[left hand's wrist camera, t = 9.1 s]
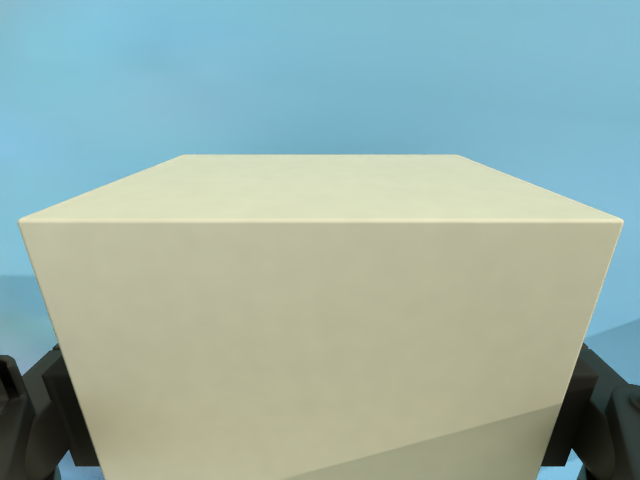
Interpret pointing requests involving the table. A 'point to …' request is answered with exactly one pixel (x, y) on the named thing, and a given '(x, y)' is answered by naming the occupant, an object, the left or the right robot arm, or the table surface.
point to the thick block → (320, 316)
